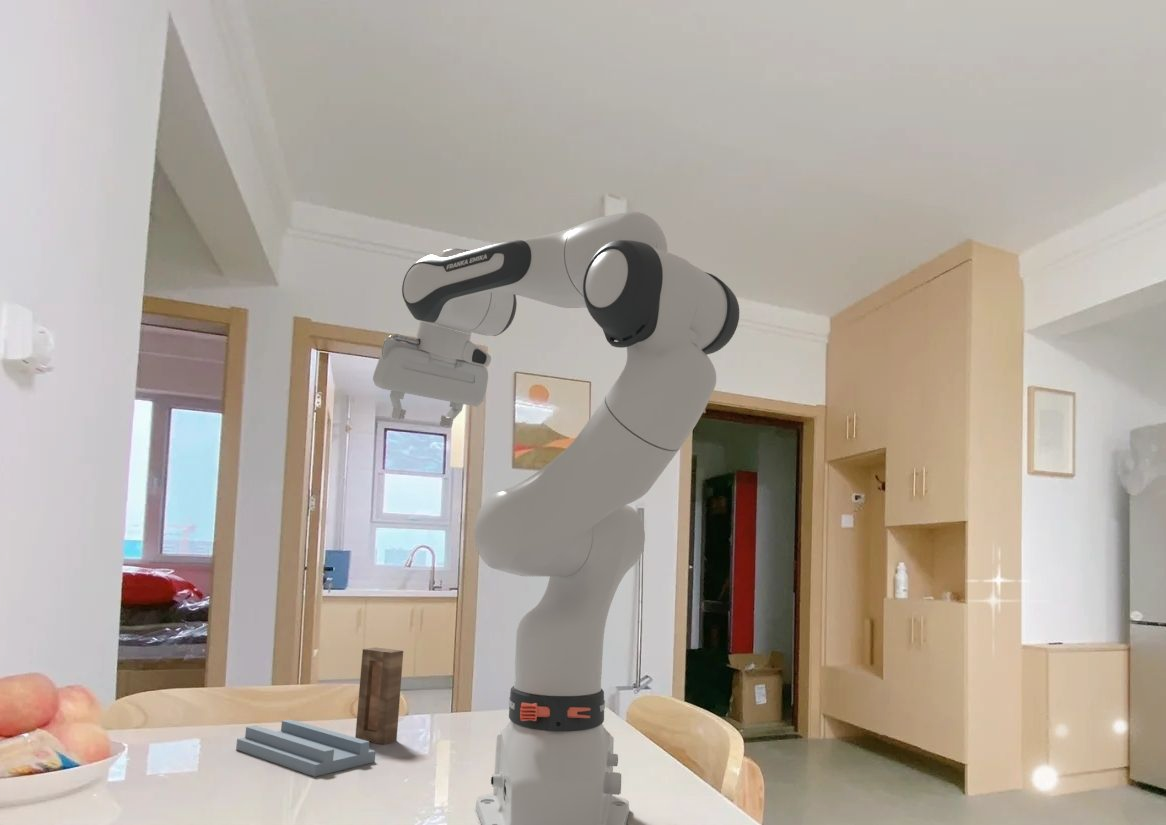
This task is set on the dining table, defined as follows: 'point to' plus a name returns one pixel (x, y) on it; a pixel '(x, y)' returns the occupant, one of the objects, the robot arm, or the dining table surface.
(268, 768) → the dining table surface
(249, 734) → the picture stand
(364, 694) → the frame
